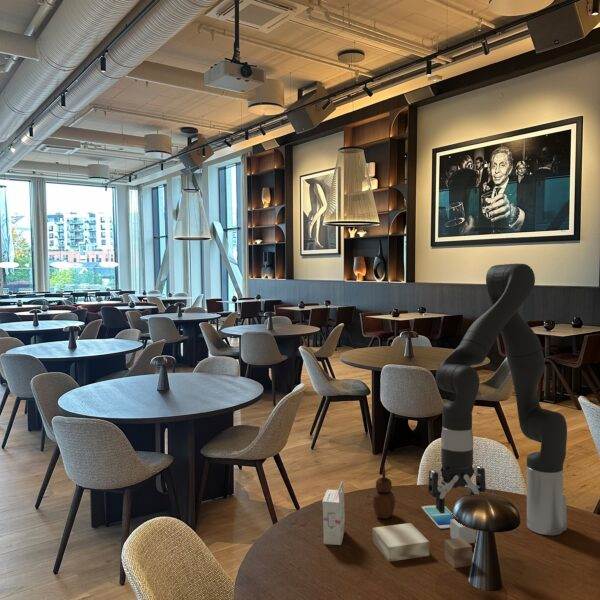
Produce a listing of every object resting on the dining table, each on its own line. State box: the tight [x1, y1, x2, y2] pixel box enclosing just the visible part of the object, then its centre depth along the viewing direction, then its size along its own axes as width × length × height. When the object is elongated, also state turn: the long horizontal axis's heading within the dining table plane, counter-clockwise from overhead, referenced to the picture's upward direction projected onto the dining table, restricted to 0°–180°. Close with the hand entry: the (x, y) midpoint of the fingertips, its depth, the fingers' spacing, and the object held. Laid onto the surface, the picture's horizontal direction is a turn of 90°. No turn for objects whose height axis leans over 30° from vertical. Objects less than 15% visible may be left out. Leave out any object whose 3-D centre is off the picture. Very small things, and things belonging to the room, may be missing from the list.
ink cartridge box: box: [321, 479, 346, 546], centre depth 148 cm, size 9×5×15 cm, turn 168°
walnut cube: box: [443, 538, 473, 569], centre depth 135 cm, size 5×5×5 cm
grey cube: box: [449, 519, 477, 545], centre depth 146 cm, size 5×5×5 cm
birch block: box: [372, 522, 430, 562], centre depth 142 cm, size 11×11×4 cm
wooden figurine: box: [372, 464, 396, 519], centre depth 161 cm, size 7×6×15 cm
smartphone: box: [421, 504, 454, 530], centre depth 160 cm, size 8×1×15 cm
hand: (457, 510), depth 134 cm, fingers open, 8 cm apart
